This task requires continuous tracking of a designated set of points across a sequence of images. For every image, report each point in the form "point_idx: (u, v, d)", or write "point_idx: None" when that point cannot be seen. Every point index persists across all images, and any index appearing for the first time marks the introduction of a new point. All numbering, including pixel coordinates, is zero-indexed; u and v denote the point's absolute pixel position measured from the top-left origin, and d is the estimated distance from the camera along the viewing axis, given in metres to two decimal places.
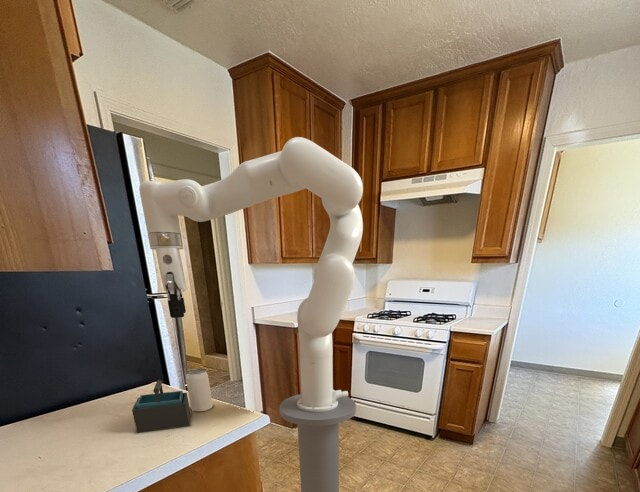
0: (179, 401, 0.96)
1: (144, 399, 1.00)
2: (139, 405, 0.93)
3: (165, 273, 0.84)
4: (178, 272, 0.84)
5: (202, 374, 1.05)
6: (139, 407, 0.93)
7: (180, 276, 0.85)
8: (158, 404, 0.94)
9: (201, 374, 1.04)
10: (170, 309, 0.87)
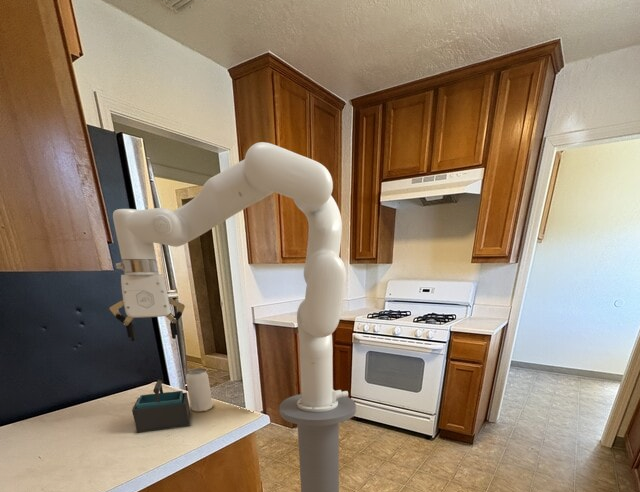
0: (179, 401, 0.96)
1: (144, 399, 1.00)
2: (139, 405, 0.93)
3: None
4: (123, 298, 0.85)
5: (202, 374, 1.05)
6: (139, 407, 0.93)
7: (124, 302, 0.85)
8: (158, 404, 0.94)
9: (201, 374, 1.04)
10: None
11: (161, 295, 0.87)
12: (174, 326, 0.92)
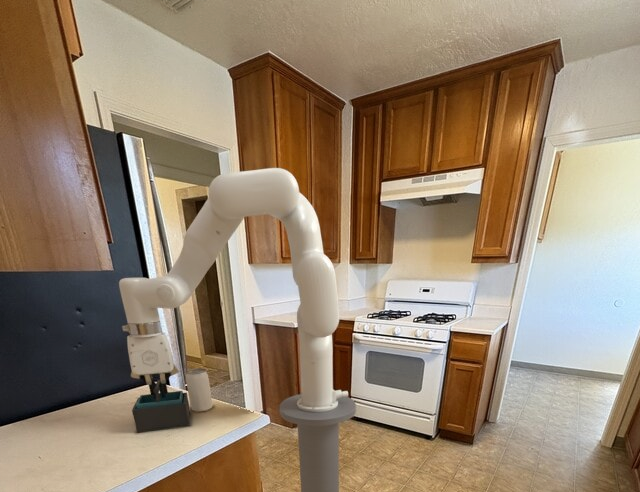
0: (179, 401, 0.96)
1: (144, 399, 1.00)
2: (139, 405, 0.93)
3: None
4: None
5: (202, 374, 1.05)
6: (139, 407, 0.93)
7: (130, 362, 0.90)
8: (158, 404, 0.94)
9: (201, 374, 1.04)
10: None
11: (165, 353, 0.92)
12: (164, 386, 0.96)
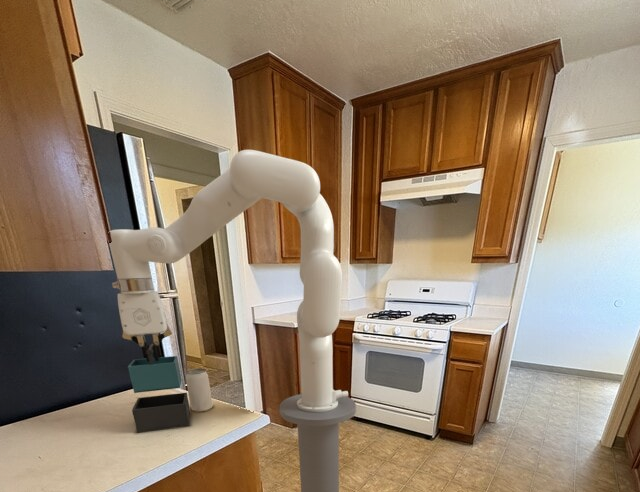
0: (173, 364, 0.92)
1: (137, 364, 0.96)
2: (131, 367, 0.89)
3: None
4: (120, 317, 0.86)
5: (202, 374, 1.05)
6: (131, 369, 0.89)
7: (121, 321, 0.86)
8: (151, 367, 0.90)
9: (201, 374, 1.04)
10: None
11: (157, 312, 0.88)
12: (157, 348, 0.92)
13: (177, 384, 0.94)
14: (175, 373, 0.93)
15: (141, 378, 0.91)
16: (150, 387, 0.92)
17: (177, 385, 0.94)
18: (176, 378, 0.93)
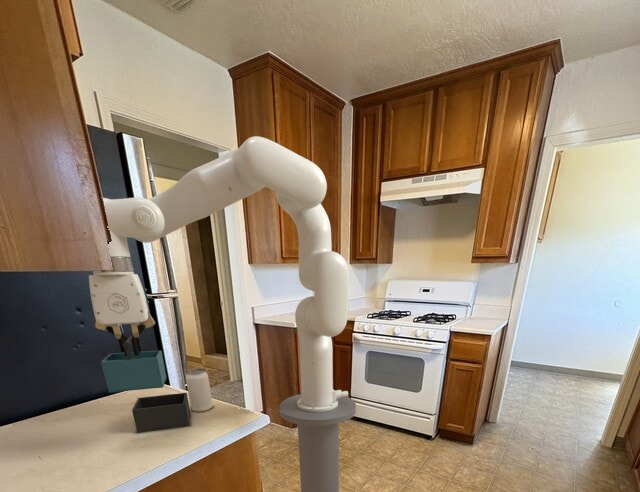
0: (155, 359, 0.79)
1: (114, 359, 0.83)
2: (105, 362, 0.76)
3: None
4: (92, 303, 0.73)
5: (202, 374, 1.05)
6: (105, 365, 0.76)
7: (93, 307, 0.73)
8: (129, 362, 0.77)
9: (201, 374, 1.04)
10: None
11: (137, 298, 0.74)
12: (137, 341, 0.79)
13: (160, 383, 0.81)
14: (157, 370, 0.80)
15: (116, 375, 0.77)
16: (128, 386, 0.79)
17: (160, 384, 0.81)
18: (158, 376, 0.80)
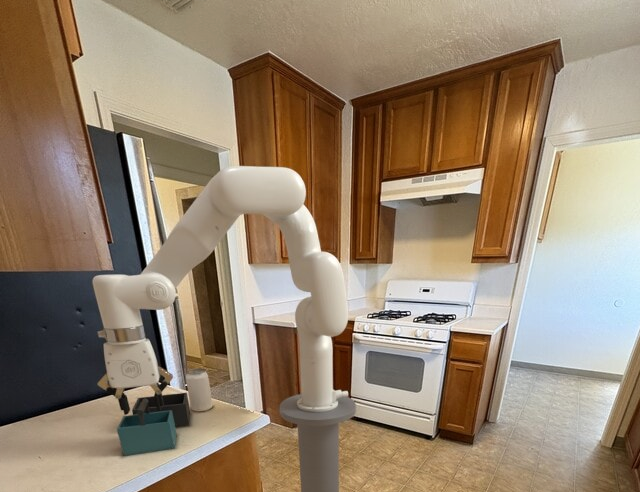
0: (167, 424, 0.83)
1: (128, 420, 0.88)
2: (120, 429, 0.80)
3: None
4: None
5: (202, 374, 1.05)
6: (120, 431, 0.81)
7: (107, 373, 0.77)
8: (143, 428, 0.82)
9: (201, 374, 1.04)
10: None
11: (148, 363, 0.78)
12: (159, 397, 0.84)
13: (171, 444, 0.85)
14: (169, 433, 0.84)
15: (131, 440, 0.82)
16: (142, 449, 0.84)
17: (171, 445, 0.85)
18: (170, 438, 0.85)
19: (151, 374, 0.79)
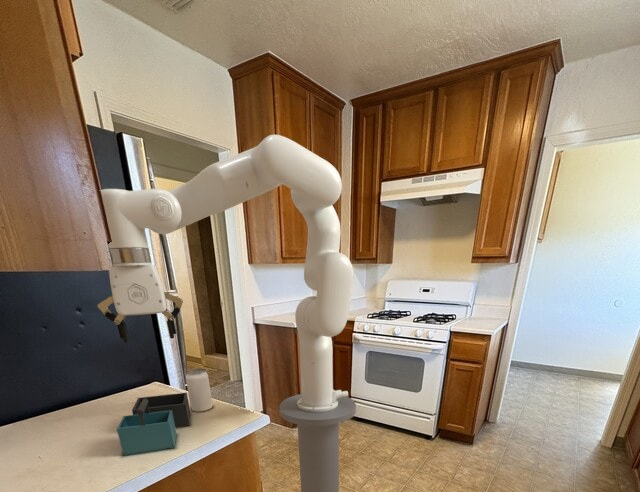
0: (167, 424, 0.83)
1: (128, 420, 0.88)
2: (120, 429, 0.80)
3: None
4: (112, 294, 0.74)
5: (202, 374, 1.05)
6: (120, 431, 0.81)
7: (113, 298, 0.75)
8: (143, 428, 0.82)
9: (201, 374, 1.04)
10: None
11: (155, 289, 0.76)
12: (172, 324, 0.81)
13: (171, 444, 0.85)
14: (169, 433, 0.84)
15: (131, 440, 0.82)
16: (142, 449, 0.84)
17: (171, 445, 0.85)
18: (170, 438, 0.85)
19: (158, 301, 0.77)
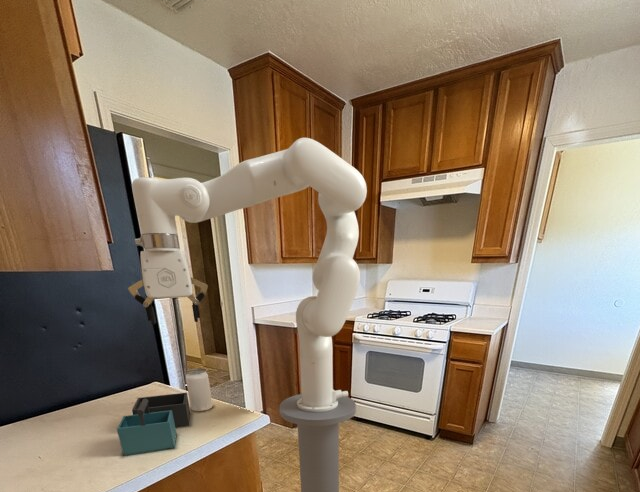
0: (167, 424, 0.83)
1: (128, 420, 0.88)
2: (120, 429, 0.80)
3: None
4: (143, 277, 0.79)
5: (202, 374, 1.05)
6: (120, 431, 0.81)
7: (143, 281, 0.79)
8: (143, 428, 0.82)
9: (201, 374, 1.04)
10: None
11: (183, 274, 0.80)
12: (196, 308, 0.85)
13: (171, 444, 0.85)
14: (169, 433, 0.84)
15: (131, 440, 0.82)
16: (142, 449, 0.84)
17: (171, 445, 0.85)
18: (170, 438, 0.85)
19: (185, 285, 0.81)
